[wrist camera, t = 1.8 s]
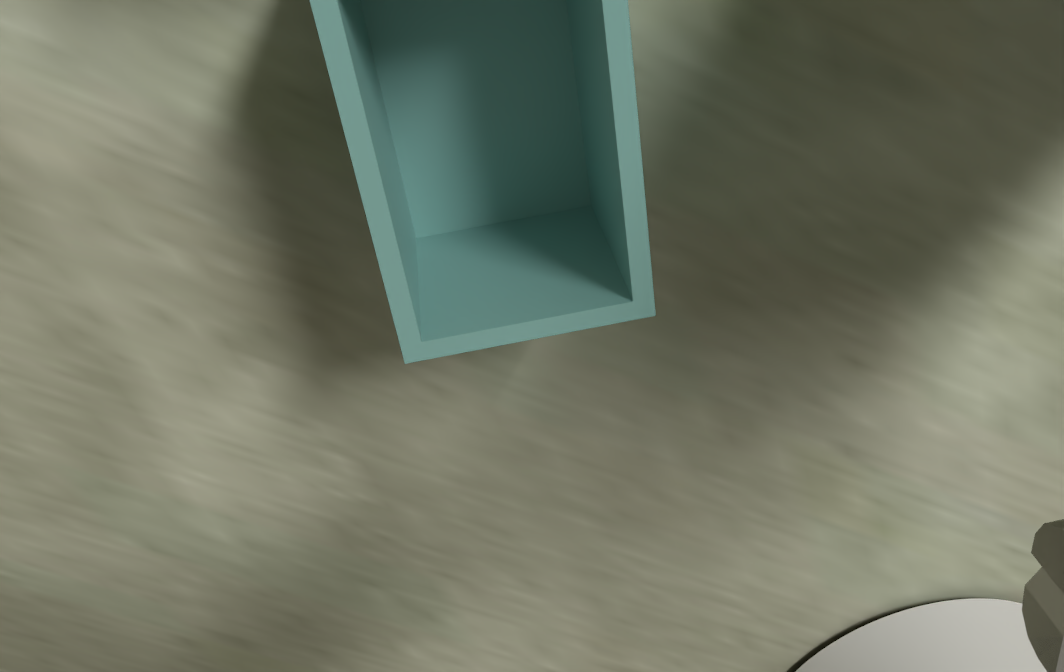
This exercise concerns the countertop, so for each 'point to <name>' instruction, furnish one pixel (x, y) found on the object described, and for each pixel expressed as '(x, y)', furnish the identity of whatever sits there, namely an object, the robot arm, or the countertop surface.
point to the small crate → (494, 164)
